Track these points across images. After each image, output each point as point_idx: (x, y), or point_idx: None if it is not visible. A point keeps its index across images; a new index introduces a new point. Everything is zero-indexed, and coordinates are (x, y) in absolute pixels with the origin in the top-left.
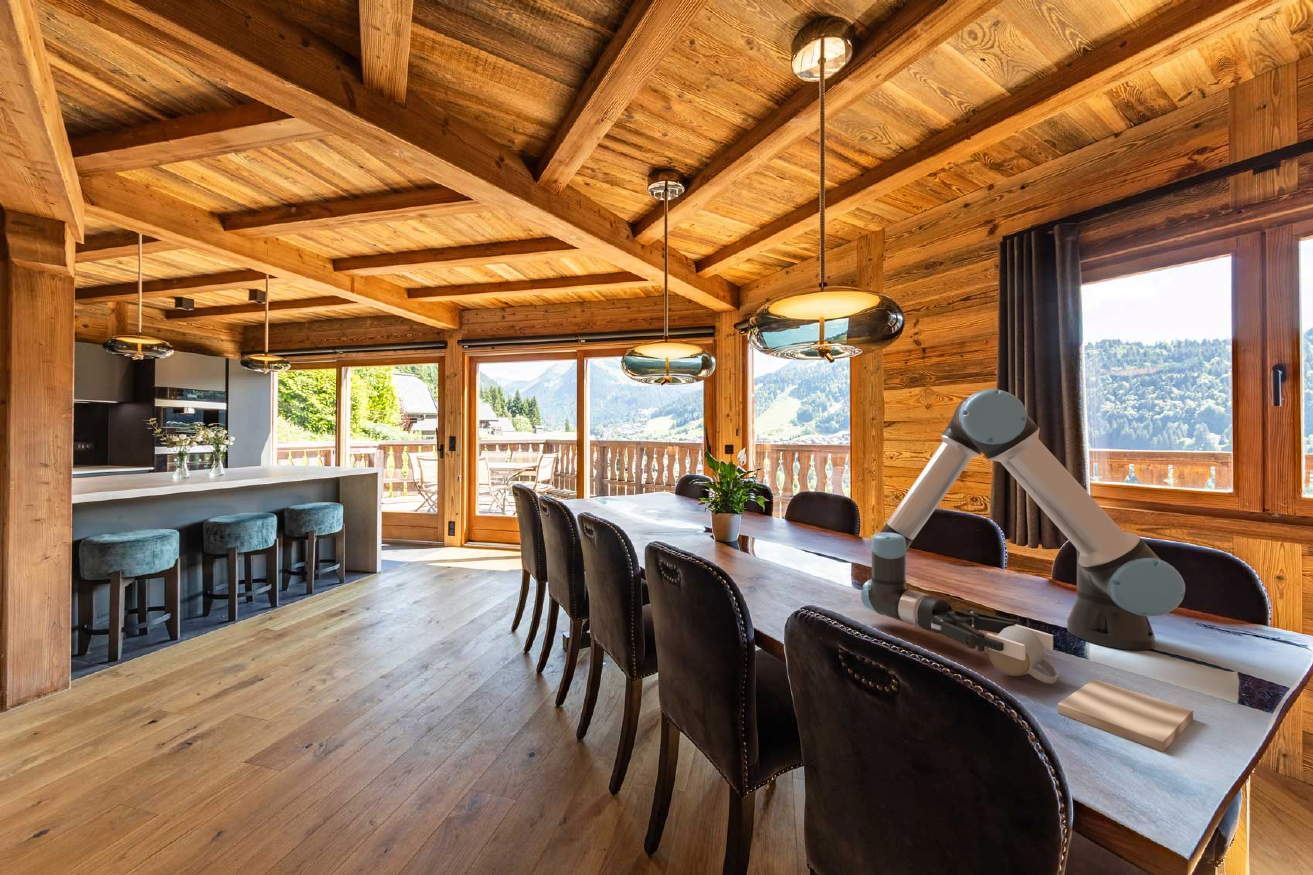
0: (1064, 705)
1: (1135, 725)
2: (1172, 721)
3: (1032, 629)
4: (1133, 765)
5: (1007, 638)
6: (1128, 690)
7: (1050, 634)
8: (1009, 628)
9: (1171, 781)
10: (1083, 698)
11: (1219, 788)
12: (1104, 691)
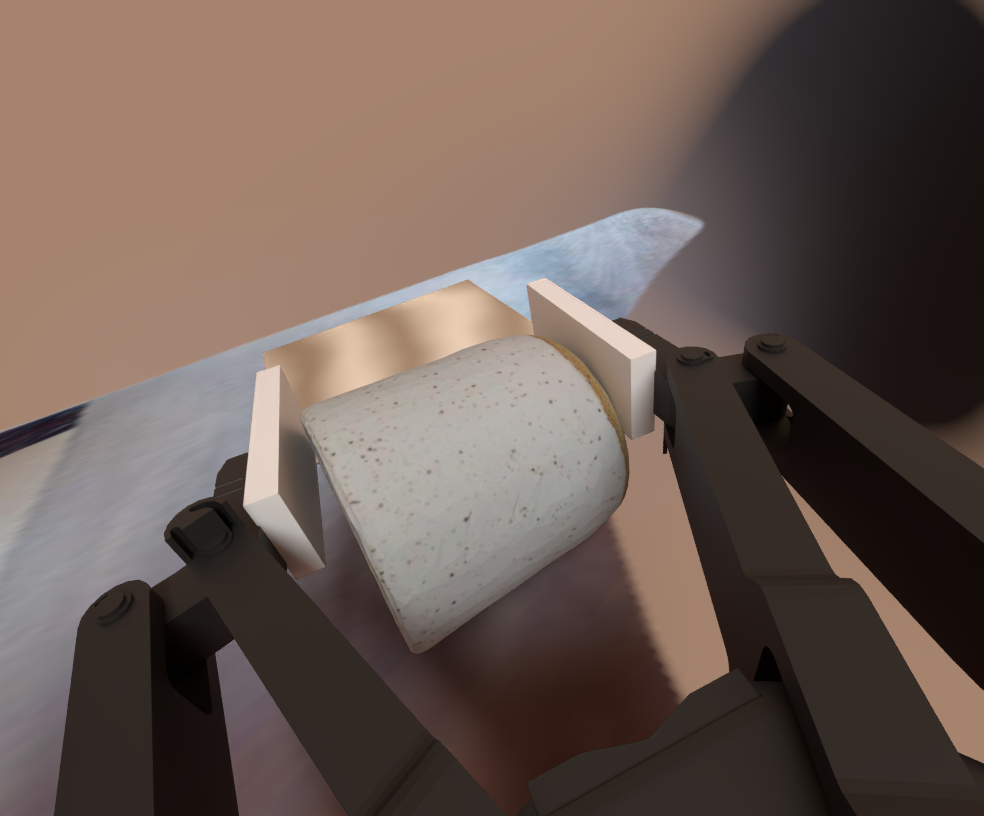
0: None
1: (458, 303)
2: (366, 320)
3: (259, 427)
4: (560, 272)
5: (539, 344)
6: None
7: (258, 377)
8: (395, 433)
9: (538, 260)
10: None
11: (486, 262)
12: None
